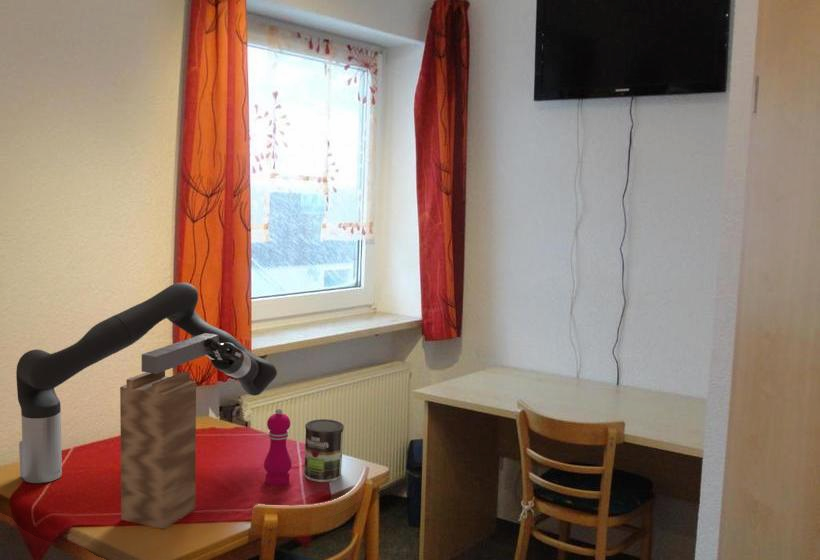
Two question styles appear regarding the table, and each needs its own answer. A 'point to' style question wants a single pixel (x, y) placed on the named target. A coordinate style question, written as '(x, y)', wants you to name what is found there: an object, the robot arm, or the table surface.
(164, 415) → the walnut stand
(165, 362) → the lever bar
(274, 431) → the pepper mill
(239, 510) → the table surface
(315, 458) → the coffee can
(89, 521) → the table surface
